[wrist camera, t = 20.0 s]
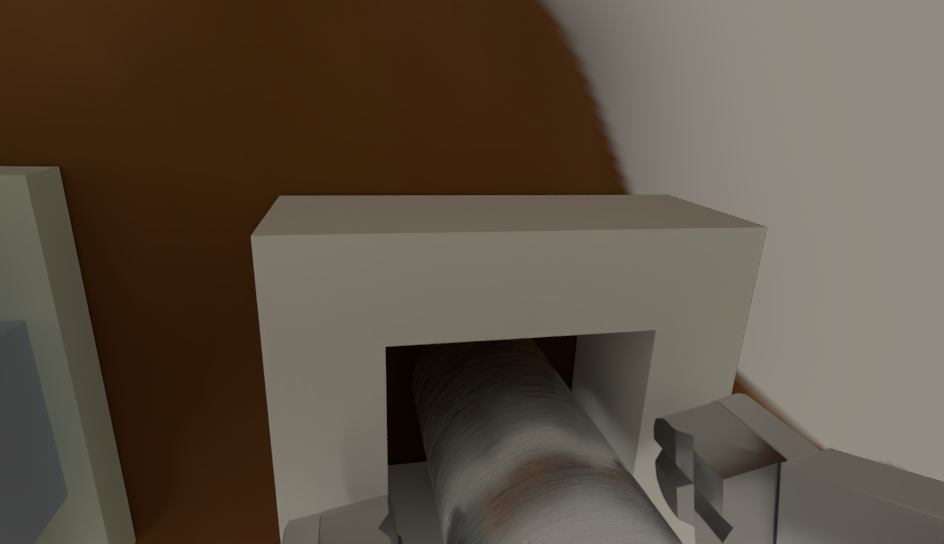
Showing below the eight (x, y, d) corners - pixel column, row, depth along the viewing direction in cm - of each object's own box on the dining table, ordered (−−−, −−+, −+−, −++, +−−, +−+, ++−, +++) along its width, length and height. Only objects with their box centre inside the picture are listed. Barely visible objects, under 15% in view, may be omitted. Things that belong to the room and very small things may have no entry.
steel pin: (408, 437, 12) (499, 982, 5) (416, 316, 11) (543, 753, 4) (532, 431, 13) (784, 899, 5) (549, 316, 12) (878, 686, 4)
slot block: (306, 537, 12) (292, 666, 10) (279, 195, 10) (250, 236, 7) (621, 495, 14) (688, 595, 11) (667, 194, 12) (766, 227, 9)
